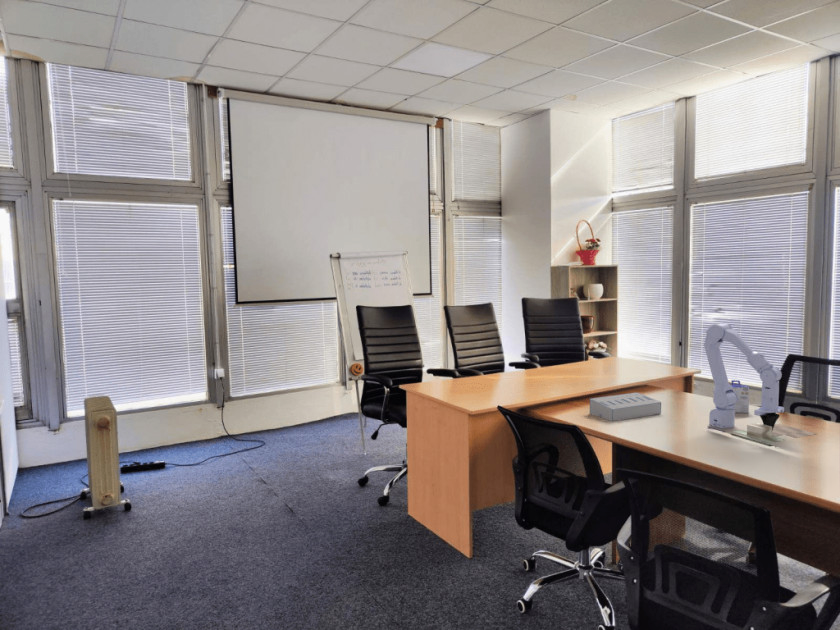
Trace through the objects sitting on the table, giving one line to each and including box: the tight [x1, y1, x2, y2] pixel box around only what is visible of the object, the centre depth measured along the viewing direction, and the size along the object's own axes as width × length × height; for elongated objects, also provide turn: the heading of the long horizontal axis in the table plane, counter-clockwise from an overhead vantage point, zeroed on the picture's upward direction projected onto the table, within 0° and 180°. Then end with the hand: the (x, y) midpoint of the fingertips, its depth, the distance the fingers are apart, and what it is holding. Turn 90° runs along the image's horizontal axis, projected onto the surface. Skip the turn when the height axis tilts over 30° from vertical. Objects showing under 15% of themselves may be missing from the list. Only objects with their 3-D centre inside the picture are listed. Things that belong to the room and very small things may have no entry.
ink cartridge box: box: [730, 379, 750, 414], centre depth 262 cm, size 10×6×14 cm, turn 78°
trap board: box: [731, 423, 818, 447], centre depth 223 cm, size 28×16×2 cm, turn 113°
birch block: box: [746, 422, 772, 439], centre depth 219 cm, size 6×6×4 cm
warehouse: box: [589, 391, 662, 422], centre depth 260 cm, size 30×14×8 cm, turn 115°
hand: (768, 431), depth 221 cm, fingers closed
